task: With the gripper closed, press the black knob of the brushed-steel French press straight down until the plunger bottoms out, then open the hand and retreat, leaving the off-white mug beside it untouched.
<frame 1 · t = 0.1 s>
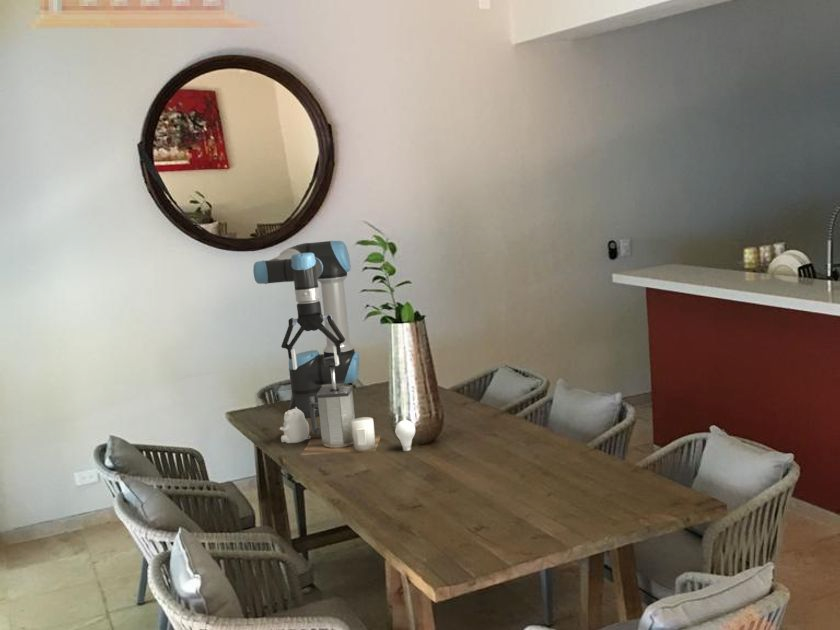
hand: (316, 367, 279), 28 cm above the table, fingers open, 13 cm apart
lightbulb: (407, 454, 274), on the table
mug: (364, 447, 280), point 1 cm above the table, touching board
plunger: (334, 384, 283), point 21 cm above the table, slide at -0.3 cm, touching gripper
carafe: (339, 443, 286), resting on board
figurine: (297, 443, 296), on the table
board: (342, 449, 285), on the table
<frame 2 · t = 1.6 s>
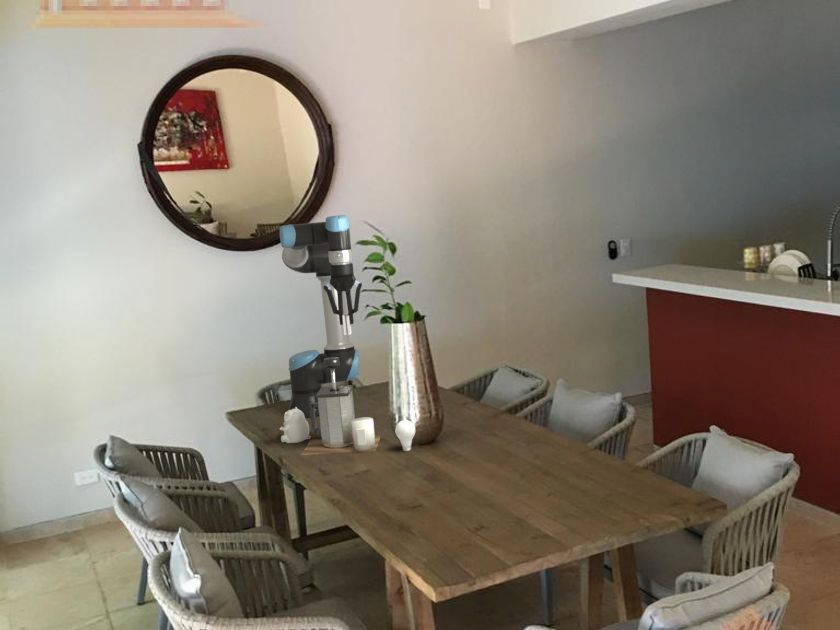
hand: (347, 334, 287), 36 cm above the table, fingers closed
plunger: (334, 385, 283), point 21 cm above the table, slide at -0.1 cm
everything else where it was.
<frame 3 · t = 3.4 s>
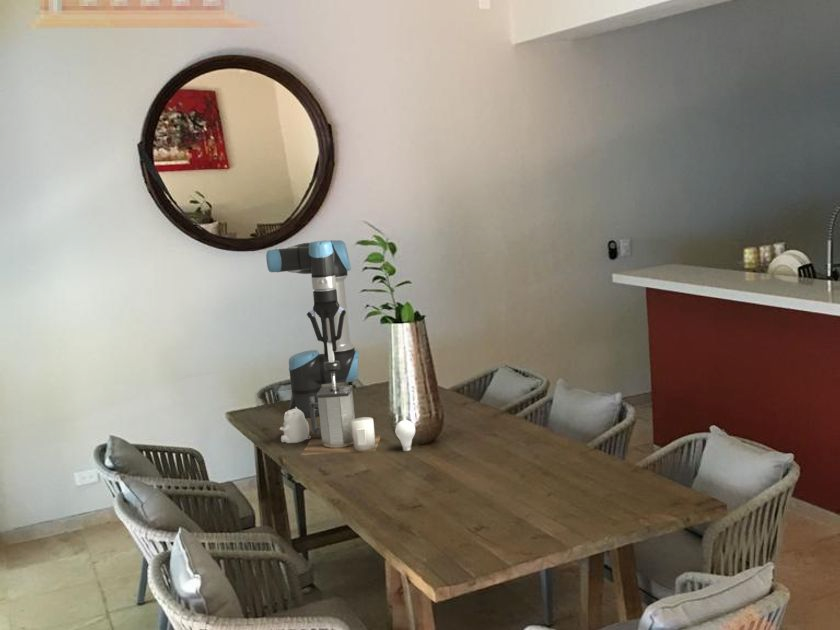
hand: (331, 361, 282), 29 cm above the table, fingers closed
plunger: (334, 388, 283), point 20 cm above the table, slide at 1.1 cm, touching gripper
everything else where it was.
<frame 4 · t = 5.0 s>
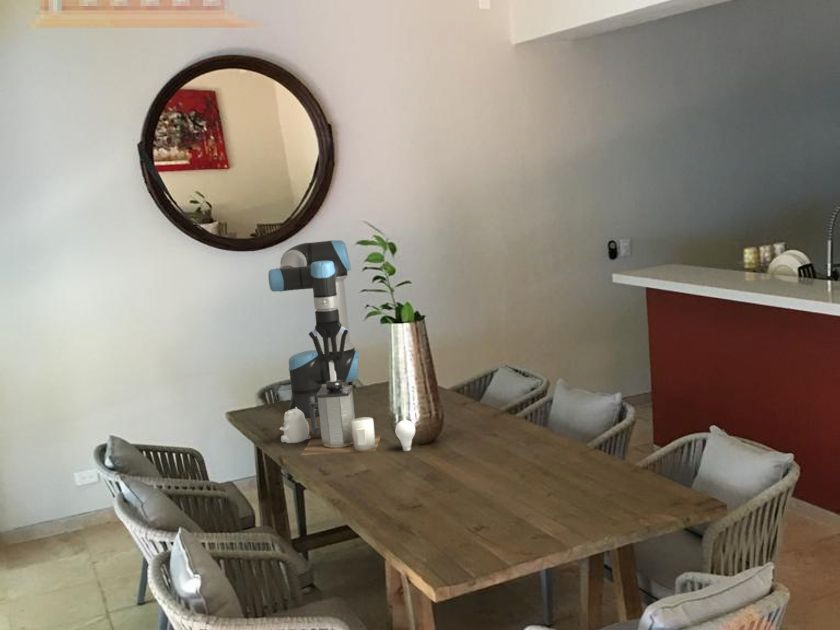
hand: (333, 380, 283), 23 cm above the table, fingers closed
plunger: (336, 407, 284), point 14 cm above the table, slide at 7.5 cm, touching gripper
everything else where it was.
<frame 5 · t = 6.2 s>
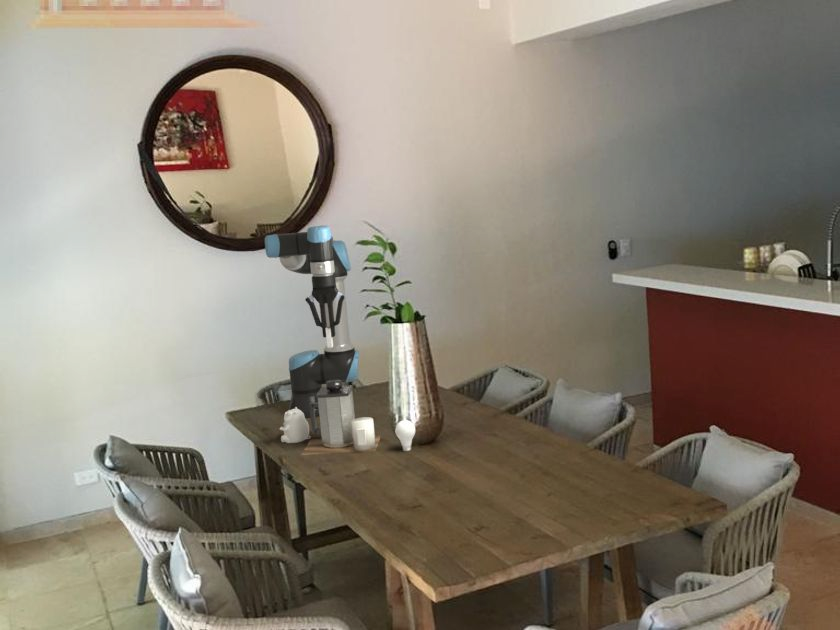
hand: (330, 346, 281), 34 cm above the table, fingers closed
plunger: (336, 407, 284), point 14 cm above the table, slide at 7.5 cm
everything else where it was.
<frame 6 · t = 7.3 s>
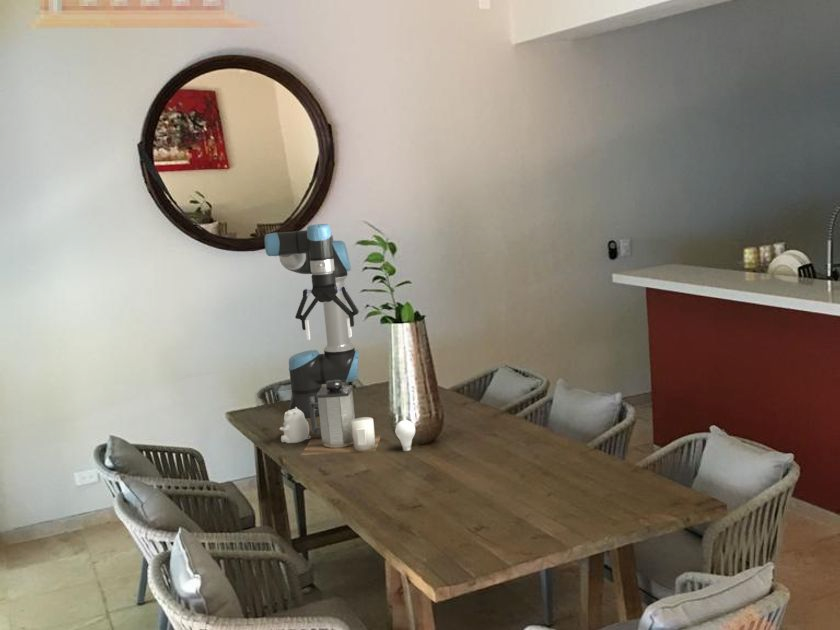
hand: (329, 338, 281), 37 cm above the table, fingers open, 13 cm apart
nothing on the table moved.
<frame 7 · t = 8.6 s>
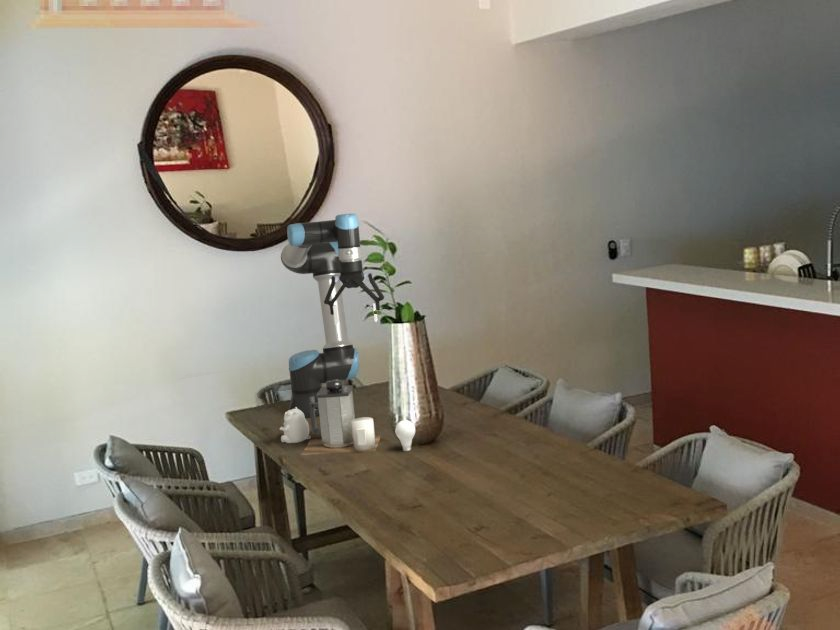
hand: (356, 322, 295), 39 cm above the table, fingers open, 13 cm apart
nothing on the table moved.
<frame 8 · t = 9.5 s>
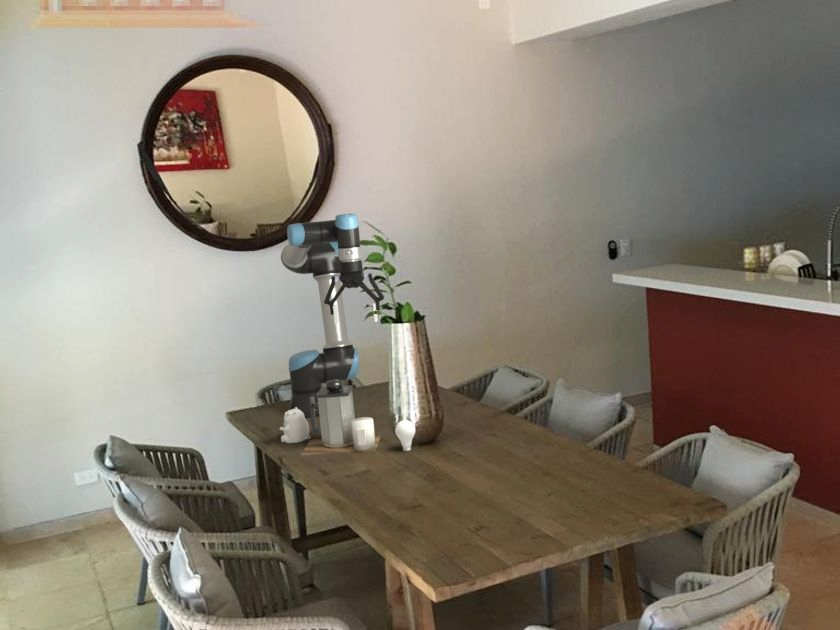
hand: (356, 322, 295), 39 cm above the table, fingers open, 13 cm apart
nothing on the table moved.
at the end: plunger slide at 7.5 cm; mug moved 0.0 cm from its start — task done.
